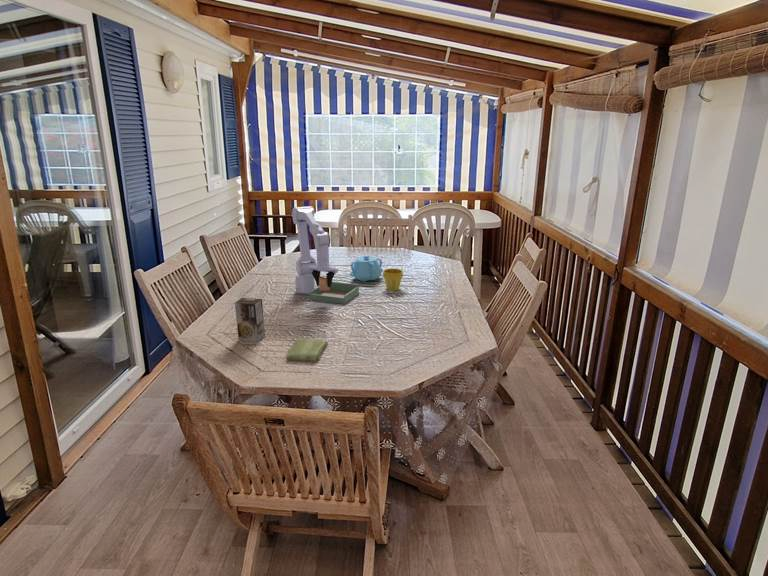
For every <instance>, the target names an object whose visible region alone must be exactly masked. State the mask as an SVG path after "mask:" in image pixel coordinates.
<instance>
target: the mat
mask: <svg viewBox="0 0 768 576" xmlns="http://www.w3.org/2000/svg"><path fill="white" fill-rule="evenodd" d="M336 305H337V303H334V302H326V301H318V300H313V302H311V303H310V304H308V305H307V306H304V309H311V310H319V311H327V312H328V311H329V310H330V309H332V308H333V307H335V306H336Z"/></svg>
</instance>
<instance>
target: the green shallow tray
mask: <svg viewBox="0 0 768 576" xmlns="http://www.w3.org/2000/svg"><path fill="white" fill-rule="evenodd" d="M359 294H360V285H359V284H358V283H357V284H356V283H348V282H339V281H332V283H331V287H330V290H328V291H320V290H319V286H317V287H316V288H315V289H314V290H312V291H310V294H309V300H311V301H318V302H326V303H334V304H343V305H345V304H347V303H349V301H351V300H352V299H354V298H355V297H357V296H358V295H359Z"/></svg>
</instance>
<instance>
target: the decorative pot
mask: <svg viewBox="0 0 768 576" xmlns="http://www.w3.org/2000/svg"><path fill="white" fill-rule="evenodd" d="M378 261H379V262H378ZM382 265H383V261H382V259H380V258H375V257H372V256H370V255H365V254H364V255H363V257H362V256H360V257H358V258H356V259H355V261H354V260H353V261H352V262H351V263H350V269H351V272H350V273H349V275H350V277H353V278H354V279H356V280H358V281H361V282H362V283H365V282H367V281H377V279H380V277H381V275H382V273H383V271H384V270H383V268H382Z"/></svg>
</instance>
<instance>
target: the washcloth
mask: <svg viewBox="0 0 768 576" xmlns="http://www.w3.org/2000/svg"><path fill="white" fill-rule="evenodd" d="M292 343H293V344H292V345H291V347H290V348H289V349H288V351H287V353H286V357H285V358H286V360H287V361H295V362H301V361H303V362H312V363H315V362H318V361H320V359H321V356H322V354H323V351H324V350H325V348H326V346H327V344H328V340H324V339H317V338H312V337H310V338H303V337H298V338H297V339H296V340H294V342H292Z"/></svg>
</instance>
